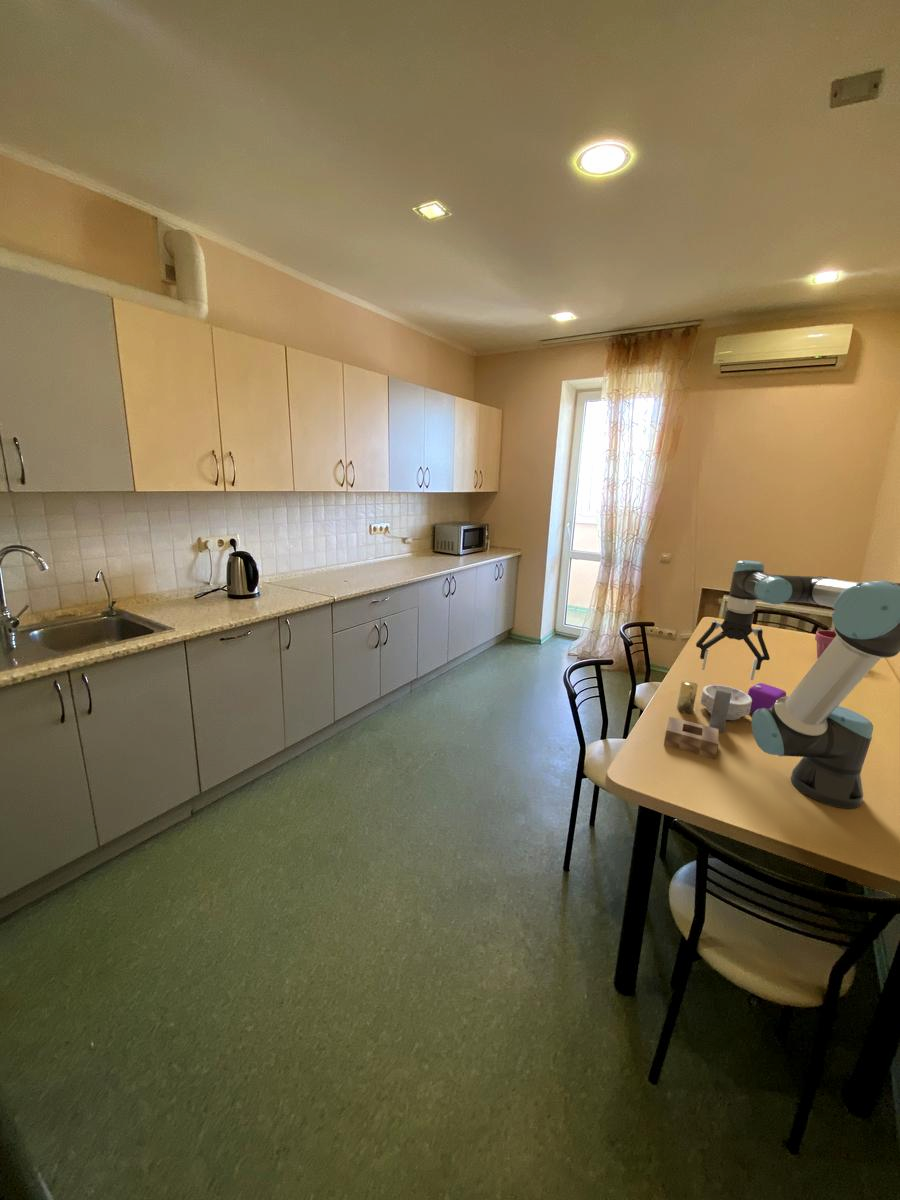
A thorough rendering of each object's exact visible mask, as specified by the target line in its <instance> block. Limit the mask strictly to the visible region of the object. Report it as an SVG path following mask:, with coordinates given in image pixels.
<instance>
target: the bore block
mask: <svg viewBox="0 0 900 1200" xmlns="http://www.w3.org/2000/svg"><path fill="white" fill-rule="evenodd" d="M718 731H719V729H716V728H712V727H709V725H704V724H699V723H697V722H696V723H695V722H691V721H688V720H684V719H680V718H677V717H674V716H673V717H672V716H669V717H668V720H667V726H666V729H665V735H664V742H663V745H664V746H668V747H670V748H675V749H677V750H682V751H685V752H689V753H692V754H696V755H700V756H703V757H706V758H710V759H714V760H716V757H717V756H716V755H717V751H718V748H719V747H718V746H719V732H718Z"/></svg>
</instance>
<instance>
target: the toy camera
mask: <svg viewBox="0 0 900 1200" xmlns="http://www.w3.org/2000/svg"><path fill="white" fill-rule="evenodd" d="M747 691H748V692H747V694H748V695H749V696H750V697H751V699H752V703H751V709H750V713H752V714H753V713H754V712H755V711H756V710H757V709H762V708H766V709H770V708H771V707H772V706H773V705H774V703H775V702H776V701H777V700H778V699H779V698H781V697H786V696H787V692H786V691H785V690H783V689H782V688H781V689H780V688H779V687H778V688H777V687H775V686H772V685H769V684H767V683H762V682H758V683H756V684H754V685H753V686H750V687H749V689H748V690H747Z"/></svg>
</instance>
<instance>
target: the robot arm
mask: <svg viewBox="0 0 900 1200" xmlns="http://www.w3.org/2000/svg"><path fill="white" fill-rule="evenodd" d="M729 588H730V589H729V595H728V599H727V604H726V607H727V608H726V609H725V612H724V613H725V614H724V617H723V622H718V621H716V620H712V622H711V625H710V626H709V627H708V629H707V630H706V631H705V632H704V633H703V634H702V636H701V637H700V638H699V639H698V640H697V642H696V644H695V646H696V648H698V649H700V650H701V651H700V656H699V659H700V660H702V661H703V662H702V666H701V670H702V671H705V668H706V664H707V658H708V654H709V648H711V647H712V646H714V645H715V644H717V643H718V642H719V641H721V640H724V639H725V638H728V639H730V640H733V639H734V640H736V641H741V640H743V641H744V643H746V645H747V646H748V648H749V650H751V652H752V653H753V655H754V656H755V657H754V658H753V661H752V666H751V671H750V675H749V679H750V681H754V678H755V674H756V671H760V669H761V666H762V663H763V661H770V659H771V657H770V655H769V652H768V649H767V646H766V643H765V641H764V638H763V628H762V627H757V628H753V627H752V624H753V620H754V615H755V613H754V612H755V611H756V608H757V607H756V606H757V604H758V603H757V602H758V600H760V601H761V602H764V603H766V604H771V605H780V604H784V603H786V602H788V603H807V604H813V605H818V606H819V605H820V606H825V607H830V608H832V609H833V610H834V612H832V613H831V619H832V623H833V630H834V631H835V633H836V637H835V638H834V639H833V640H832V642H831V643H830V644H829V646H828V647H827V648H826V649H825V651H824V652H823V653H822V655H821V656H820V657H819V658H817V660H816V661H815V662H814V663H813V665H812V666H811V668H810V669H809V670H808V671H807V672H806V674H805V675H804V677H802V679H801V681H799V683H798V684H797V685H796V687H795V688H794V689H793V690H792V692H791V693H790V694H789V696H787V695H786V697H781V698H779V699H778V700H777V701H776V702H775V703H774V705H773V706H772V707H771V708H770V709H766V708H762V709H757V710H756V711H755V712H754V713H752V715H751V731H752V735H753V738H754V740H755V743H756V744H757V746H758V748H759V749H760V750H761V751H762V752H763V753H766V754H768V755H770V756H771V755H773V756H778V757H799V758H800V757H802V758H801V759H800V760H799V761H798V762H797V764H796V765H795V766H794V767H793V768H792V771H791V775H790V782H791V783H792V785H793V786H794V787H795V788H796V789H797V790H799V791H800V792H801V793H802V794H804V795H806V796H807V797H809V798H811V799H813V800H815V801H816V802H817V801H818V802H820V803H822V804H825V805H828V806H831V807H835V808H842V809H855V808H859V807H860V806H861V805H862V802H863V799H864V791H863V784H862V783H863V782H862V777H861V773H862V769H863V766H864V763H865V760H866V757H867V754H868V750H869V748H870V745H871V742H872V740H873V737H872V736H873V731H874V725H873V723H872V721H871V720H870V719H868V718H867V717H865V716H863V714H860V713H858V712H856V711H854V710H852V709H849V708H846V707H843V706H840V704H841V703H842V702H843V701H844V700H845V699H846V698H847V696H848V695H849V694H850V693H852V691H853V690H854V689H855V688H856V687H857V685H858V684H859V683H860V682H862V680H863V679H864V678H865V677H866V675H868V674H869V672H870V671H871V670H872V669H873V668H874V667H875V665H876V664H877V663H879V661H880V660H881V659H890V658H894V657H896V656H897V655H898V654H899V653H900V582H892V581H887V580H886V581H885V580H876V581H863V582H862V581H861V582H858V581H850V580H843V579H836V578H834V577H828V576H821V575H819V576H812V575H811V576H810V575H809V576H808V575H807V576H805V575H790V574H789V575H786V574H785V575H784V574H771V573H767V572H765V564H764V563H763V562H761V561H756V560H755V561H754V560H749V559H748V560H747V559H742V560H738V561H736V563H735V565H734V570H733V571H732V578H731V583H730V587H729ZM719 628H721V630H722V631H721V632H720V633H719V634H717V635H716V636H714V637H712V638H711V639H710V640H708V641H706V640H707V639H708V638H709V637H710V636H711V635H712V634H713V633H714V632H715V630H717V629H719ZM752 633H753V634H754V636H757V639H758V643H759V645H760V646H759V647H760V648H761V651H762V654H761V653H760V652H759V650H758V649H757V647H756V645H754V643H753V641H752V640H751V639H750V636H749V635H751V634H752ZM704 642H705V643H704Z"/></svg>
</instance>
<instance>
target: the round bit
mask: <svg viewBox="0 0 900 1200" xmlns="http://www.w3.org/2000/svg"><path fill="white" fill-rule="evenodd" d="M698 687H699V685H698V684H697V682H694V681H691V680H681V683H680V687H679V693H678V699H677V705H676V709H677V710H678V711H680V712H682V713H685V714H686V713H687V714H692V713H693V712H694V708H695V707H694V706H695V703H696V696H697V691H698Z"/></svg>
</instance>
